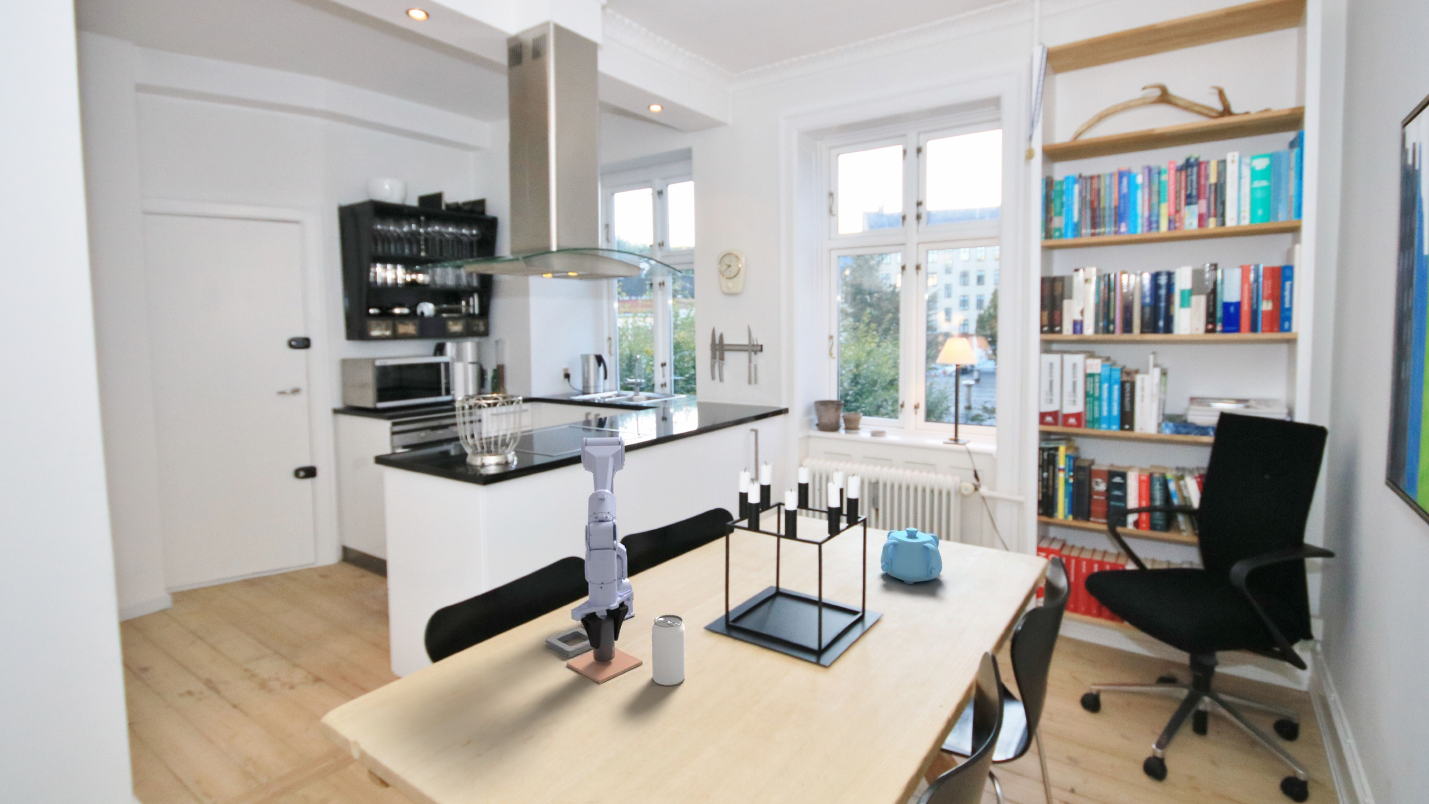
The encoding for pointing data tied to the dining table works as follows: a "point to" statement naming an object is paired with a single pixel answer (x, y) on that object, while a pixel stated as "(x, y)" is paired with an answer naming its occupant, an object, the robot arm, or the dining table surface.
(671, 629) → the can
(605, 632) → the plug
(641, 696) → the dining table surface
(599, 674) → the tile
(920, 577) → the decorative pot
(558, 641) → the socket collar
